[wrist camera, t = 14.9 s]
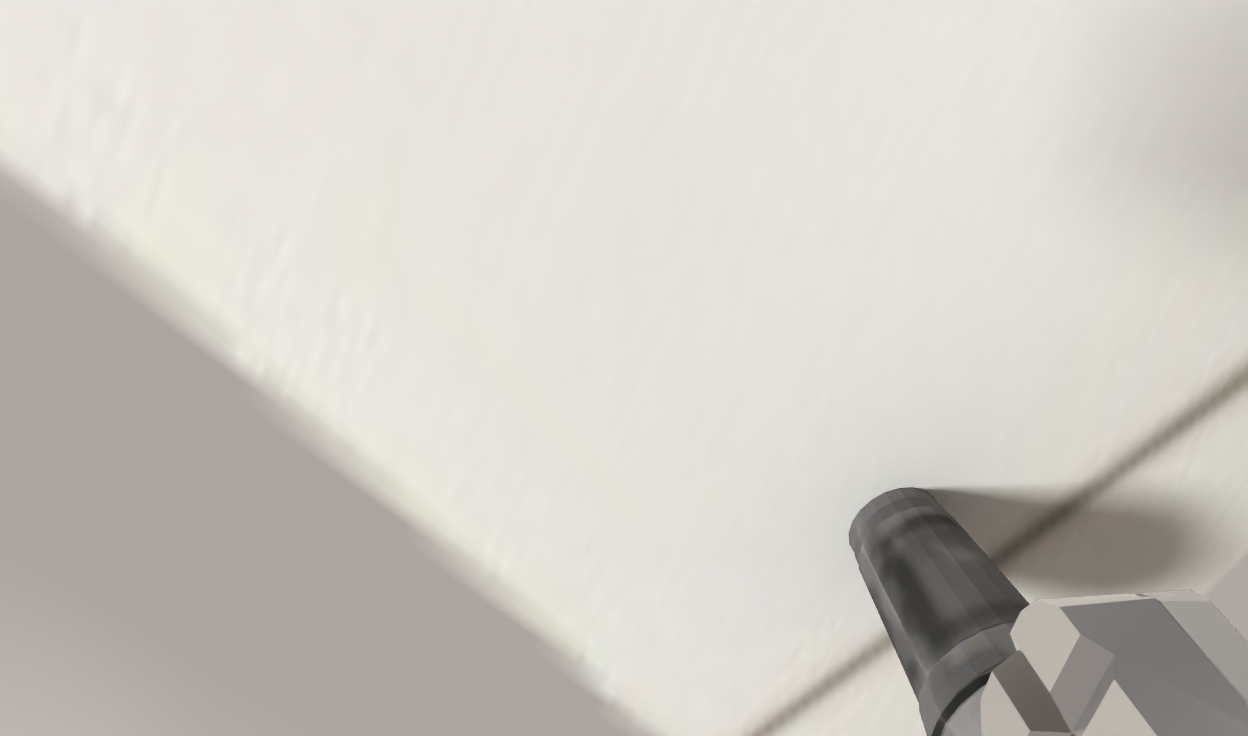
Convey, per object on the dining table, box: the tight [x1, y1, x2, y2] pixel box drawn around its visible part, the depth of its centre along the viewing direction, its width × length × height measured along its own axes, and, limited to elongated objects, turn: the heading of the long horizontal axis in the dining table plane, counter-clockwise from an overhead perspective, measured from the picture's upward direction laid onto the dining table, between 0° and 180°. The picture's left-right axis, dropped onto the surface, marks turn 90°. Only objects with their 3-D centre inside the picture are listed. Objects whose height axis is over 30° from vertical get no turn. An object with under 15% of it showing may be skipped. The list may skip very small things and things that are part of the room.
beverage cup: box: [849, 488, 1030, 736], centre depth 47 cm, size 7×7×20 cm
